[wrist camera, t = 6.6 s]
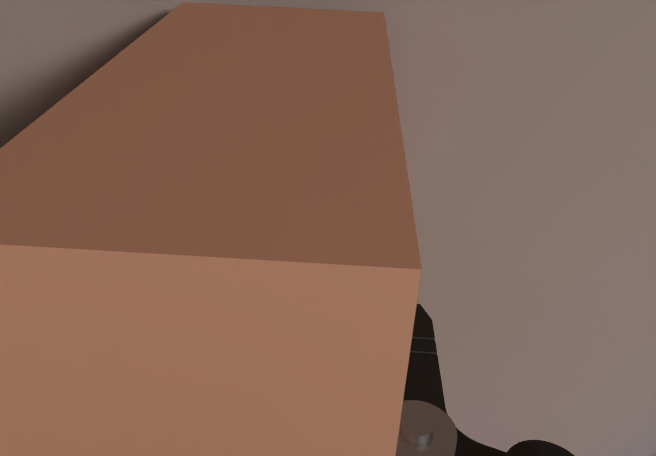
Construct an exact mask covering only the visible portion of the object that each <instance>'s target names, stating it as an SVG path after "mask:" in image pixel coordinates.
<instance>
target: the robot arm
mask: <svg viewBox="0 0 656 456" xmlns="http://www.w3.org/2000/svg"><path fill="white" fill-rule="evenodd" d="M434 339H435V337H434V330H433V323H432V319H431V318H430V317H429V315H428V314H427V313H426V311H425V310H424V309H423V307H422V306H421V305H420V304H417V306H416V313H415V320H414V327H413V334H412V341H411V348H410V355H409V362H408V370H407V377H406V384H405V391H404V398H403V405H402V412H401V419H400V426H399V433H398V441H397V448H396V455H395V456H574V455H573V454H572V453H570V452H569V451H567V450H566V449H564V448H562V447H560V446H558V445H556V444H553V443H550V442H547V441H541V440H527V441H522V442H519V443H517V444H515V445H514V446H512V447H511V448H510V449H509V451H508V452H507V453H506V452H503V451H500V450H497V449H495V448H492V447H489V446H486V445H483V444H480V443H478V442H476V441H474V440H472V439H470V438H468V437H467V436H465V435H464V434H463V433H462V432H460V431H459V430H458V429H457V428H456V427H455V424H454V423H453V421H452V419H451V418H450V417H449V416H448V414H447V412H446V408H445V402H444V396H443V389H442V382H441V376H440V369H439V363H438V356H437V350H436V343H435V340H434Z"/></svg>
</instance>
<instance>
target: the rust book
mask: <svg viewBox="0 0 656 456" xmlns="http://www.w3.org/2000/svg"><path fill="white" fill-rule="evenodd" d="M421 270H422V269H421V262H420V255H419V248H418V242H417V235H416V228H415V221H414V214H413V208H412V201H411V194H410V187H409V181H408V174H407V167H406V160H405V153H404V147H403V140H402V133H401V126H400V119H399V113H398V106H397V99H396V92H395V85H394V79H393V72H392V65H391V58H390V51H389V45H388V38H387V31H386V24H385V17H384V13H379V12H360V11H340V10H321V9H302V8H282V7H263V6H243V5H224V4H205V3H185V2H182V3H181V4H180V5H179V6H177V7H176V8H175V9H174V10H172V11H171V12H170V13H169V14H167V15H166V16H165V17H164V18H162V19H161V20H160V21H159V22H157V23H156V24H155V25H154V26H152V27H151V28H150V29H149V30H147V31H146V32H145V33H144V34H142V35H141V36H140V37H139V38H137V39H136V40H135V41H134V42H132V43H131V44H130V45H129V46H127V47H126V48H125V49H124V50H122V51H121V52H120V53H119V54H117V55H116V56H115V57H114V58H112V59H111V60H110V61H109V62H107V63H106V64H105V65H104V66H102V67H101V68H100V69H99V70H97V71H96V72H95V73H94V74H92V75H91V76H90V77H89V78H87V79H86V80H85V81H84V82H82V83H81V84H80V85H79V86H77V87H76V88H75V89H74V90H72V91H71V92H70V93H69V94H67V95H66V96H65V97H64V98H62V99H61V100H60V101H59V102H58V103H56V104H55V105H54V106H53V107H51V108H50V109H49V110H48V111H46V112H45V113H44V114H43V115H41V116H40V117H39V118H38V119H36V120H35V121H34V122H33V123H31V124H30V125H29V126H28V127H26V128H25V129H24V130H23V131H21V132H20V133H19V134H18V135H16V136H15V137H14V138H13V139H11V140H10V141H9V142H8V143H6V144H5V145H4V146H3V147H1V148H0V456H395V455H396V448H397V441H398V433H399V426H400V419H401V412H402V405H403V398H404V391H405V384H406V377H407V370H408V362H409V355H410V348H411V341H412V334H413V327H414V320H415V313H416V306H417V298H418V291H419V284H420V277H421Z"/></svg>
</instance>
